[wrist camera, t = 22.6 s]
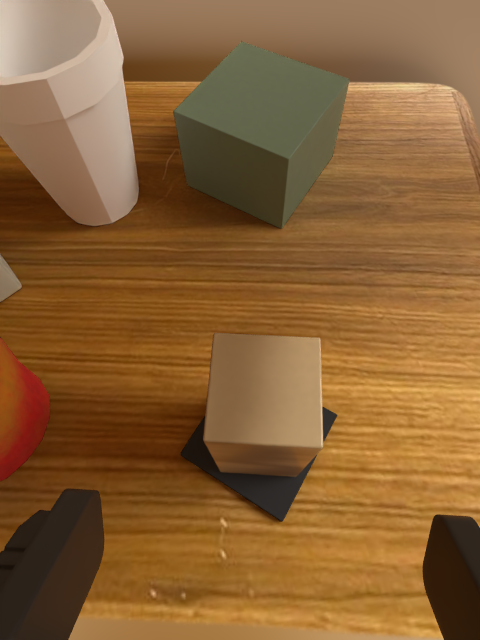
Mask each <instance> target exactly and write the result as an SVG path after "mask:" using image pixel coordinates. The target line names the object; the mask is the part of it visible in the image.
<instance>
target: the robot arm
mask: <svg viewBox="0 0 480 640" xmlns="http://www.w3.org/2000/svg"><path fill="white" fill-rule="evenodd" d="M103 550H104V530H103V520H102V509H101V499H100V494H99V492H98V491H97V490H83V489H65V490H64V491H63V492H62V494H61V495H60V497H59V498H58V500H57V501H56V503H55V504H54V506H53V508H52V509H51V511H46V510H39V511H38V512H37V513H35V514H34V515H33V516H32V517H30V518H29V519H28V520H27V521H25V522H24V523H23V524H22V525H20V526H19V527H18V529H17V530H16V532H15V533H14V534H13V536H12V537H11V539H10V540H9V541H8V543H7V544H6V546H5V549H4V551H1V553H0V640H68V638H69V636H70V634H71V632H72V630H73V627H74V625H75V623H76V620H77V618H78V616H79V613H80V611H81V609H82V606H83V604H84V602H85V599H86V597H87V595H88V592H89V590H90V588H91V585H92V583H93V581H94V578H95V576H96V574H97V571H98V569H99V566H100V563H101V560H102V555H103ZM423 580H424V586H425V590H426V593H427V596H428V599H429V601H430V604H431V607H432V609H433V612H434V615H435V617H436V620H437V622H438V625H439V628H440V630H441V633H442V636H443V638H444V640H480V528H479V526H478V524H477V523H476V521H475V520H474V519H473V518H471V517H468V516H453V515H435V516H434V518H433V521H432V525H431V530H430V534H429V539H428V543H427V548H426V552H425V557H424V561H423Z"/></svg>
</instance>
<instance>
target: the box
mask: <svg viewBox="0 0 480 640" xmlns="http://www.w3.org/2000/svg"><path fill="white" fill-rule="evenodd" d="M21 287H22V285H21V283H20V282H19V280H18V279H17V277H16V275H15V274H14V272H13V271H12V270H11V268H10V267H9V265H8V264H7V263H6V261H5V260H4V258H3V257H2V256H1V254H0V302H1V301H3V300H4V299H6V298H7V297H9V296H10V295H12V294H13V293H15V292H16V291H18V290H19V289H21Z"/></svg>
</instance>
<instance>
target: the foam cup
mask: <svg viewBox="0 0 480 640" xmlns="http://www.w3.org/2000/svg"><path fill="white" fill-rule="evenodd" d="M123 59H124V57H123V54H122V50H121V46H120V42H119V39H118V35H117V31H116V27H115V24H114V20H113V16H112V14H111V13H110V11H109V9H108V8H107V6H106V4H105V2H104V1H103V0H0V136H1V137H2V138H3V140H4V141H5V142H6V143H7V144H8V146H9V147H10V148H11V149H12V150H13V152H14V153H15V154H16V155H17V156H18V158H19V159H20V160H21V161H22V162H23V163H24V165H25V166H26V167H27V168H28V169H29V171H30V172H31V173H32V174H33V175H34V177H35V178H36V179H37V180H38V181H39V183H40V184H41V185H42V186H43V187H44V189H45V190H46V191H47V192H48V193H49V194H50V196H51V197H52V198H53V199H54V200H55V202H56V203H57V204H58V205H59V206H60V208H61V209H62V210H63V211H65V213H66V214H67V215H68V216H69V217H71V218H72V219H73V220H75V221H76V222H77V223H80V224H85V225H91V226H99V225H104V224H110V223H113V222H115V221H117V220H119V219H120V218H122V217H124V216H126V215H127V214H128V213H129V212H130V211H131V209H132V208H133V207H134V205H135V204H136V203H137V200H138V194H139V186H138V183H139V182H138V175H137V168H136V162H135V155H134V148H133V141H132V134H131V127H130V120H129V113H128V107H127V100H126V93H125V86H124V79H123V72H122V64H123Z"/></svg>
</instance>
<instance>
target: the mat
mask: <svg viewBox="0 0 480 640" xmlns="http://www.w3.org/2000/svg"><path fill="white" fill-rule="evenodd" d="M322 415H323V442H324V440H325V438H326V436H327V434H328V432H329V430H330V428H331V426H332V424H333V423H334V421H335V419H336V417H337V415H336V414H335V413H333V412H331V411H329V410H328V409H326V408H324V407H322ZM204 425H205V416H204V418H203V420H202V421H201V423H200V424H199V426H198V427H197V429H196V430H195V432H194V433H193V435H192V437H191V438H190V440H189V441H188V443H187V444H186V446H185V447H184V449H183V450H182V452H181V454H180V455H181V456H183V457H184V458H186V459H187V460H189V461H190V462H192V463H193V464H195V465H196V466H198V467H199V468H201V469H202V470H204V471H205V472H207V473H209V474H210V475H212V476H213V477H215V478H216V479H218V480H219V481H221V482H222V483H224V484H225V485H227V486H228V487H230V488H231V489H233V490H234V491H236V492H237V493H239V494H240V495H242V496H243V497H245V498H246V499H248V500H249V501H251V502H253V503H254V504H256V505H257V506H259V507H260V508H262V509H263V510H265V511H266V512H268V513H269V514H271V515H272V516H274V517H275V518H277V519H278V520H280V521H281V522H282V521H283V520H284V518H285V516H286V514H287V512H288V510H289V508H290V506H291V504H292V502H293V500H294V498H295V497H296V495H297V493H298V491H299V489H300V487H301V485H302V483H303V481H304V479H305V477H306V475H307V473H308V471H309V469H310V467H311V465H312V463H313V461H314V460H315V458H316V456H317V455H316V456H315V457H314V458H313V459H312V460H311V461H310V462H309V463H308V465H307V466H306V467H305V468H304V469H303V470H302V471H301V472H300V473H299V474H298V476H296V477H290V476H274V475H258V474H242V473H226V472H220V470H219V468H218V466H217V464H216V463H215V461H214V459H213V457H212V455H211V454H210V452H209V450H208V448H207V446H206V444H205V443H204V440H203V436H204Z"/></svg>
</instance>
